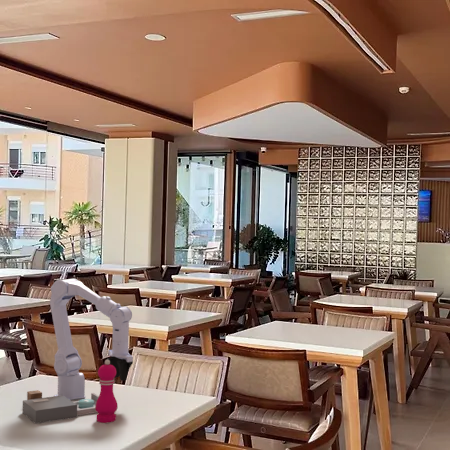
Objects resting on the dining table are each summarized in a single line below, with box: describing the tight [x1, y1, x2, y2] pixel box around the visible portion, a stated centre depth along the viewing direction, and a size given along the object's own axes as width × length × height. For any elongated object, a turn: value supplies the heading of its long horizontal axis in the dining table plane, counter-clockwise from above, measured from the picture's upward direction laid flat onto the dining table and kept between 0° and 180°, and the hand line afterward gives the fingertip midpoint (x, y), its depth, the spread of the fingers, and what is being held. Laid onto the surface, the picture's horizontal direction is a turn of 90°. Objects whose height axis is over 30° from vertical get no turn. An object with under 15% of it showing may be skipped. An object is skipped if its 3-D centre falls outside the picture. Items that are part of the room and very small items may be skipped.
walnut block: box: [26, 389, 43, 400], centre depth 231 cm, size 4×4×5 cm
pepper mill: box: [95, 359, 118, 424], centre depth 216 cm, size 7×7×20 cm
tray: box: [73, 392, 99, 416], centre depth 227 cm, size 14×14×3 cm
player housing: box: [22, 395, 78, 424], centre depth 221 cm, size 14×14×4 cm
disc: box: [78, 398, 94, 409], centre depth 228 cm, size 5×5×2 cm
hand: (119, 378), depth 235 cm, fingers open, 5 cm apart
